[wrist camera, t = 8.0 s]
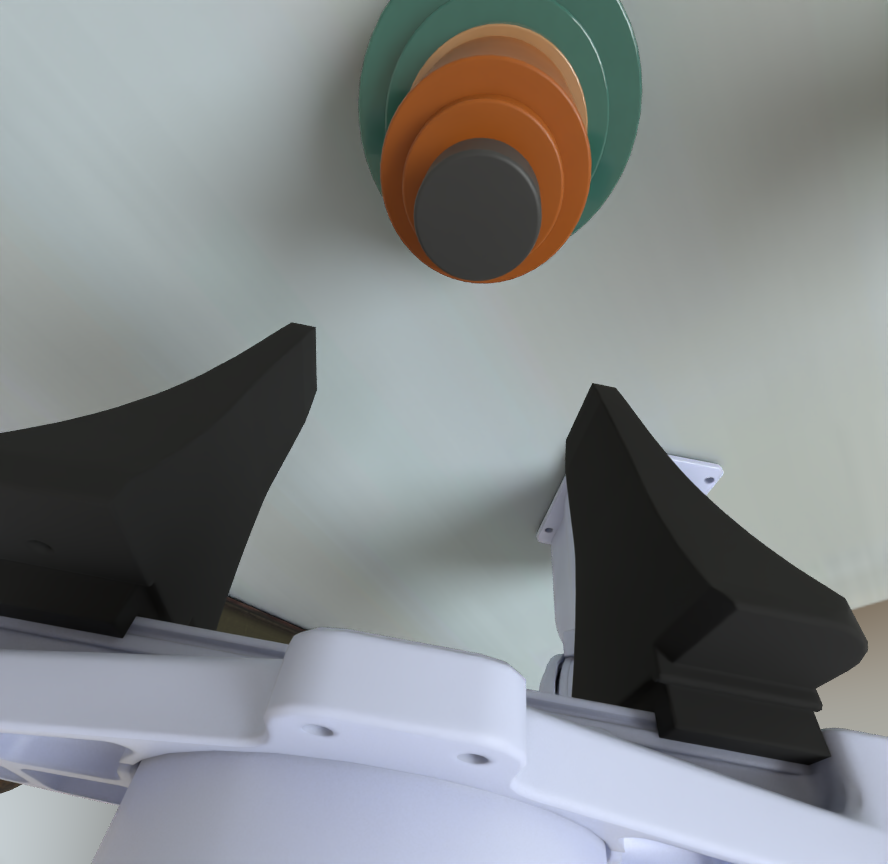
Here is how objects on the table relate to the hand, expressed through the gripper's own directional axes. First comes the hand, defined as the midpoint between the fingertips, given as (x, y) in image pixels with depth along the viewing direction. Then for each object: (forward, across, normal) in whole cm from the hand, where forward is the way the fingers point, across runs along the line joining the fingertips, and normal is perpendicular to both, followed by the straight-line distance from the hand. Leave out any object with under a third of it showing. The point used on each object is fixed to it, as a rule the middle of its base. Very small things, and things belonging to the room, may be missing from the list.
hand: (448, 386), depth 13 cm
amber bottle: (+6, 0, -5) cm, 7 cm away
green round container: (+10, 0, -4) cm, 11 cm away
